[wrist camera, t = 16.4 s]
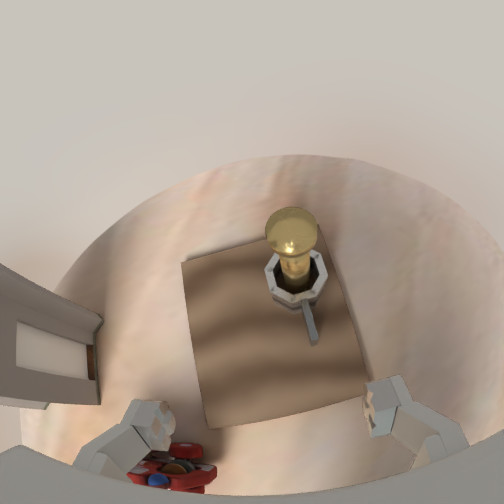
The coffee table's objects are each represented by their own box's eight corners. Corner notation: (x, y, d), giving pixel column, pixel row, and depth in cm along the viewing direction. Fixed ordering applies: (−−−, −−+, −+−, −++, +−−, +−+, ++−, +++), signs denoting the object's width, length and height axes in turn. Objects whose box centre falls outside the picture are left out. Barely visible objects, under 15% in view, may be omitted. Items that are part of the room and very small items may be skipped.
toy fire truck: (223, 492, 26) (192, 524, 17) (135, 475, 28) (88, 492, 19) (221, 444, 29) (189, 464, 20) (133, 431, 31) (83, 438, 22)
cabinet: (99, 314, 39) (-56, 225, 14) (136, 356, 36) (-54, 285, 11) (41, 402, 34) (-100, 369, 9) (70, 446, 30) (-86, 438, 6)
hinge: (339, 337, 31) (345, 330, 27) (287, 352, 32) (283, 348, 27) (305, 229, 38) (304, 208, 33) (259, 242, 38) (252, 222, 34)
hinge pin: (315, 301, 34) (320, 249, 21) (282, 304, 34) (266, 254, 22) (312, 269, 35) (313, 204, 23) (280, 272, 36) (264, 209, 23)
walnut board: (369, 391, 29) (371, 391, 28) (211, 428, 30) (208, 429, 29) (318, 229, 39) (318, 224, 38) (184, 265, 40) (181, 262, 39)
